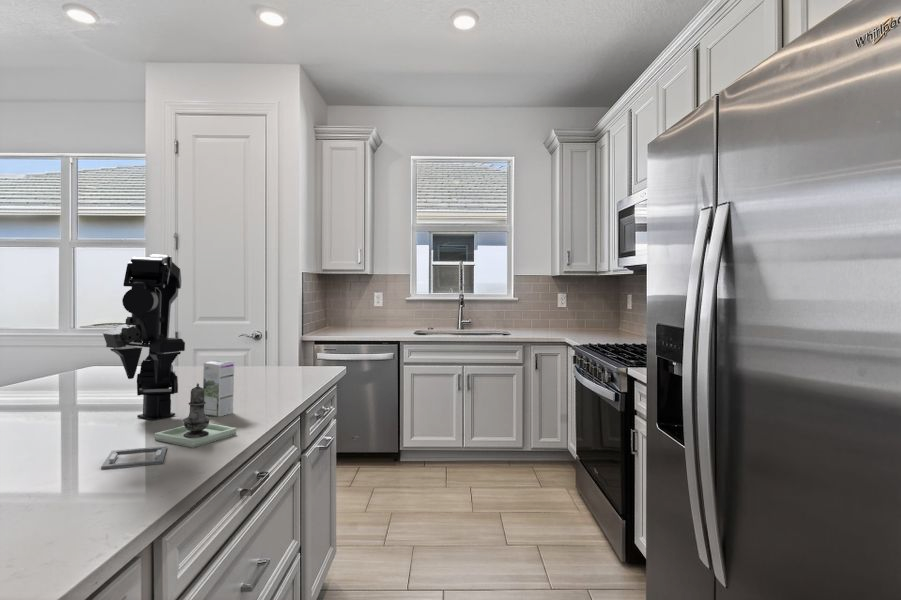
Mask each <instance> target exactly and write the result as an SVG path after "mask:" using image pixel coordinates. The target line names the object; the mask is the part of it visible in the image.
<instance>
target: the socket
mask: <svg viewBox="0 0 901 600" xmlns="http://www.w3.org/2000/svg"><path fill="white" fill-rule="evenodd" d="M167 450H168V446H167V445H165V446H154V447H141V448H129V449H126V448H125V449H116V450H115V449H114V450H111V451H110V453H109V454H108V456H107V457H106V459H105V460H104V462H103V463H102V465H101V466H100V467H101V468H100V470H107V469H116V468H117V469H118V468H128V467H139V466H150V465H159V464H160V465H161V464H163V463H164V459H165V456H166V453H167ZM146 452H156V453H155V459H152V460H141V461H131V462H120V463H115V462H116V460H117V459H118V456H119V455H123V454H131V453H135V454H136V453H146Z"/></svg>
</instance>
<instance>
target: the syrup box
mask: <svg viewBox="0 0 901 600" xmlns="http://www.w3.org/2000/svg"><path fill="white" fill-rule="evenodd" d="M202 383H203V385H202V388H203V389H204V402H206V404H204V413H205V416H208V417H215V418H220V417H224V415H225V416H228V415H231V414H233V413H234V393H235V391H234V388H235V387H234V385H235V384H234V383H235V362H234V361H226V360H212V361H206V362H203V382H202ZM227 414H228V415H227Z"/></svg>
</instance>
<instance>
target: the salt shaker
mask: <svg viewBox="0 0 901 600" xmlns="http://www.w3.org/2000/svg"><path fill="white" fill-rule="evenodd" d="M204 404H206V402H204V389H203V387H200V384H199V382H198V383H196V386H195V387H193V388H192V389H191V390H190V402H188V405H189V413H188V416H187V417H186V418H183V419H182V420H181V421H182V423H183V426H185V428H186V429H187V430H188V431H189V432H187V433H185V434H184V435H183V436H184V437H186V438H199V437H204V436H207V435H208V434H209V432H207V431H205V430H204V429H205V428H206V427H207V426H208V424H209V423H210V421H211V419H212V418H211V416H208V415H205V413H204Z"/></svg>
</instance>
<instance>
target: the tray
mask: <svg viewBox="0 0 901 600" xmlns="http://www.w3.org/2000/svg"><path fill="white" fill-rule="evenodd" d="M204 430H205V431H207V432H209V434H208V435H207V436H204V437H199V438H186V437H184V436H183V435H184V434H185V433H187V432H189V431H188V430H187V429H186V428H185V426H184V425H181V426H177V427H174V428H171V429H170V428H169V429H167V430H162V431H159V432H155V433H154V440H155V441H160V442H164V443H169V444H173V445H178V446H183V447H189V448H197V447H201V446H203V445H207V444H211V443H213V441H214V442H217V441H220V440H223V439H226V438H229V437H232V436H231V435H233V436H235V435H234V434H236V435H237V427H233V426H227V425H222V424H221V425H220V424H215V423H210V422H209V424H208V426H207V427H206V428H205V429H204ZM225 437H226V438H225ZM222 438H223V439H222ZM219 439H220V440H219ZM216 440H217V441H216Z"/></svg>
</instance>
